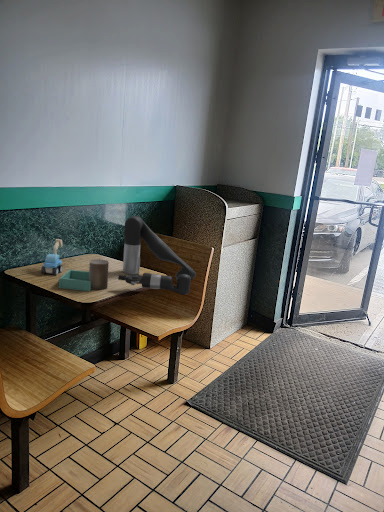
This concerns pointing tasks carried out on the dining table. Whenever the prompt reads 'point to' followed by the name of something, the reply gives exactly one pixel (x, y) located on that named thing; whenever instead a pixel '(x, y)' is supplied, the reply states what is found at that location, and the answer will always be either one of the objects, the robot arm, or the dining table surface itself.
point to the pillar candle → (98, 273)
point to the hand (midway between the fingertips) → (118, 277)
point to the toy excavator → (53, 261)
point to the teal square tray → (75, 280)
